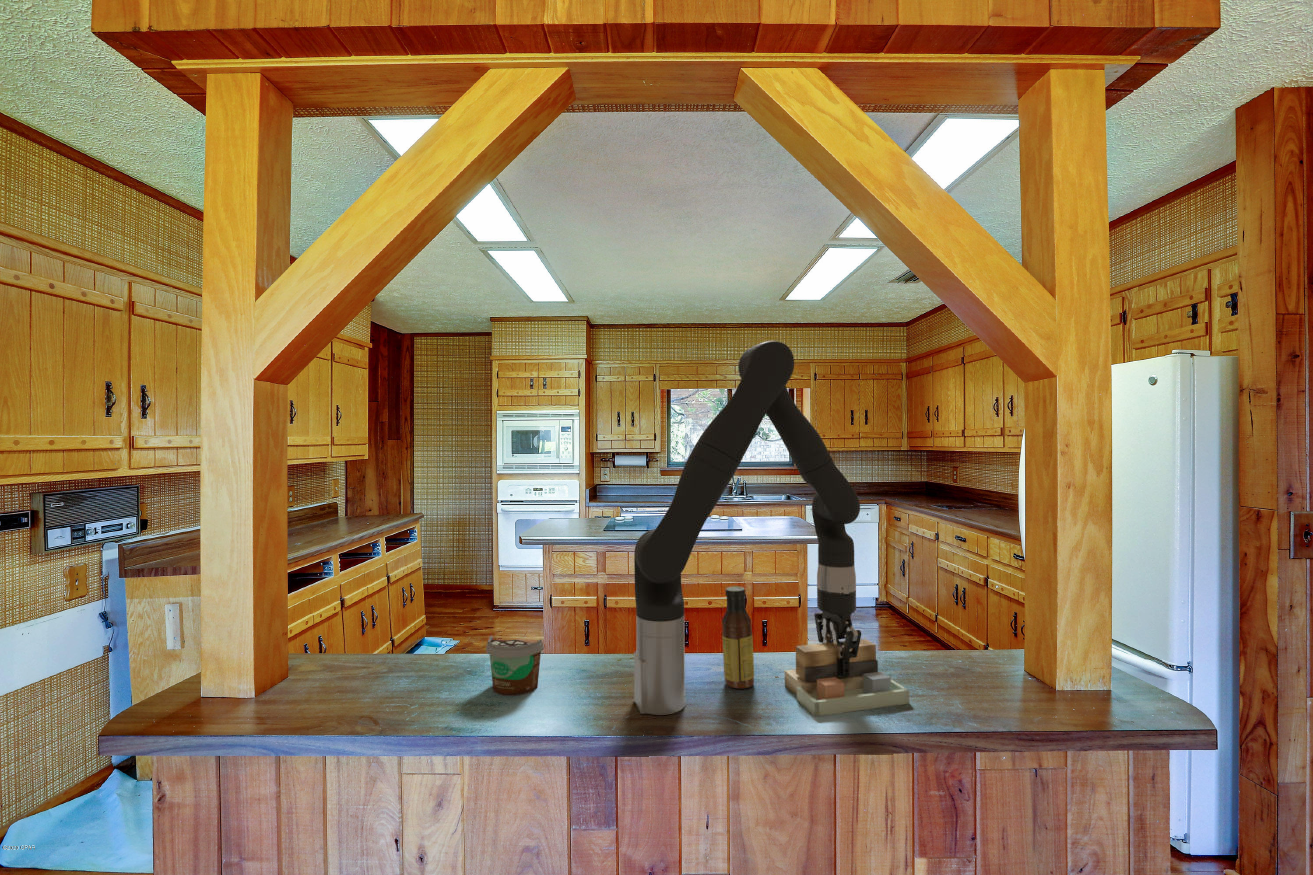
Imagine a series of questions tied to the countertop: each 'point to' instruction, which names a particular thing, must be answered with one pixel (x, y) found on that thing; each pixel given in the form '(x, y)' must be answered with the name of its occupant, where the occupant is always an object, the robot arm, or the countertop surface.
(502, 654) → the food container
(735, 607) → the sauce bottle
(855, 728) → the countertop surface
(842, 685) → the salmon pink block
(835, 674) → the brown and black bar
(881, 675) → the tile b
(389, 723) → the countertop surface
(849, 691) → the tray
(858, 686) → the board
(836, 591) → the robot arm
